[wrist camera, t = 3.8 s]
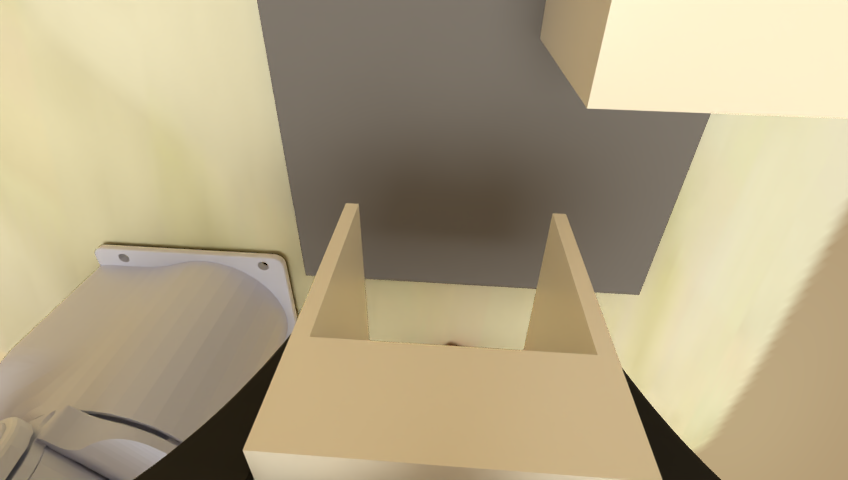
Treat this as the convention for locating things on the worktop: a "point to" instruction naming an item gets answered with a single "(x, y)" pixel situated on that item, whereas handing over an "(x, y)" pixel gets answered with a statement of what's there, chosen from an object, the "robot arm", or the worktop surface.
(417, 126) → the mat
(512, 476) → the box
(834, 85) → the box
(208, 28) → the worktop surface
